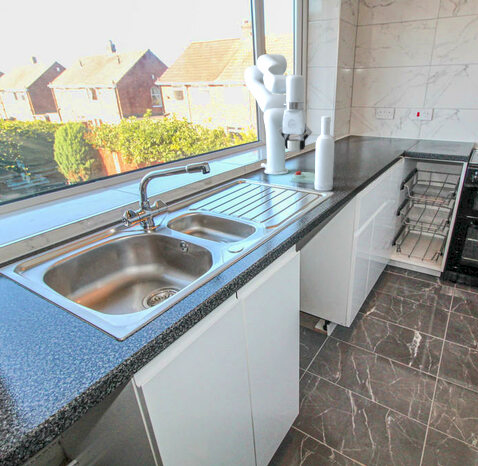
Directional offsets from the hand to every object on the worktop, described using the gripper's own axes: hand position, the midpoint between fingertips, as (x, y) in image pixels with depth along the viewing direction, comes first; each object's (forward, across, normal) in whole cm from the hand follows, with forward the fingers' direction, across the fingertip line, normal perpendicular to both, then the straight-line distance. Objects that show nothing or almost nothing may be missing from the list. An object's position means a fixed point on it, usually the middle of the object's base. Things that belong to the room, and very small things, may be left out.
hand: (294, 148), depth 149 cm
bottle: (+16, +16, -5) cm, 23 cm away
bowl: (+1, 0, 0) cm, 1 cm away
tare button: (+13, +1, +3) cm, 13 cm away
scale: (+15, +6, +7) cm, 18 cm away
